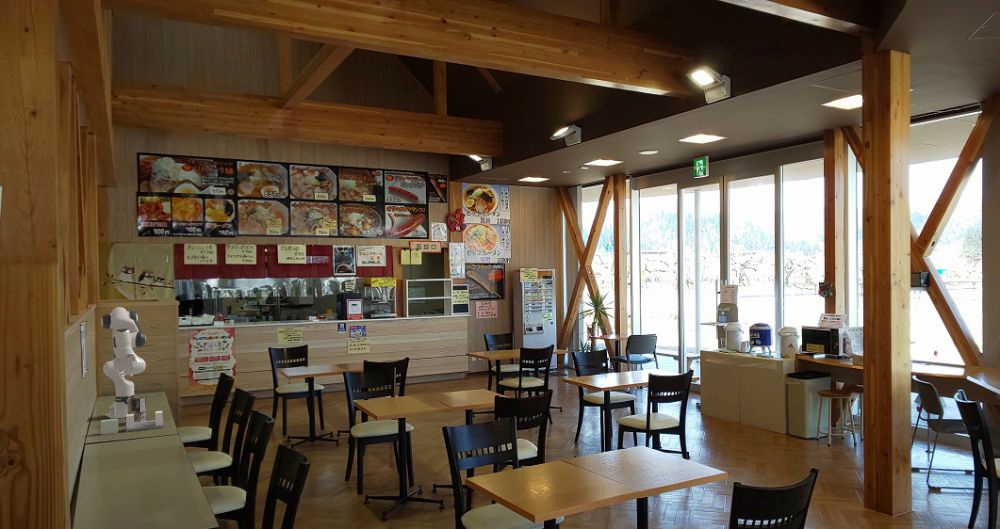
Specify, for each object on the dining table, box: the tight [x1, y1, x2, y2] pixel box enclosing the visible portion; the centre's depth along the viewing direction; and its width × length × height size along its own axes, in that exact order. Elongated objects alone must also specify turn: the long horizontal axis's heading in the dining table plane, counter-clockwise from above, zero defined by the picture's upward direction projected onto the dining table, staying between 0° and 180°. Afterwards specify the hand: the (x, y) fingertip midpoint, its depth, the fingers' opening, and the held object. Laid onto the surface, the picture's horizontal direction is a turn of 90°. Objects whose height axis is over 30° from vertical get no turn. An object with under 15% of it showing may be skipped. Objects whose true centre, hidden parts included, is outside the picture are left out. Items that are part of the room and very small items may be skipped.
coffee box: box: [127, 396, 147, 423], centre depth 439 cm, size 9×6×16 cm
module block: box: [100, 418, 119, 436], centre depth 411 cm, size 4×9×8 cm, turn 118°
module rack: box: [125, 410, 165, 433], centre depth 422 cm, size 9×21×10 cm, turn 118°
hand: (126, 376), depth 421 cm, fingers open, 8 cm apart
